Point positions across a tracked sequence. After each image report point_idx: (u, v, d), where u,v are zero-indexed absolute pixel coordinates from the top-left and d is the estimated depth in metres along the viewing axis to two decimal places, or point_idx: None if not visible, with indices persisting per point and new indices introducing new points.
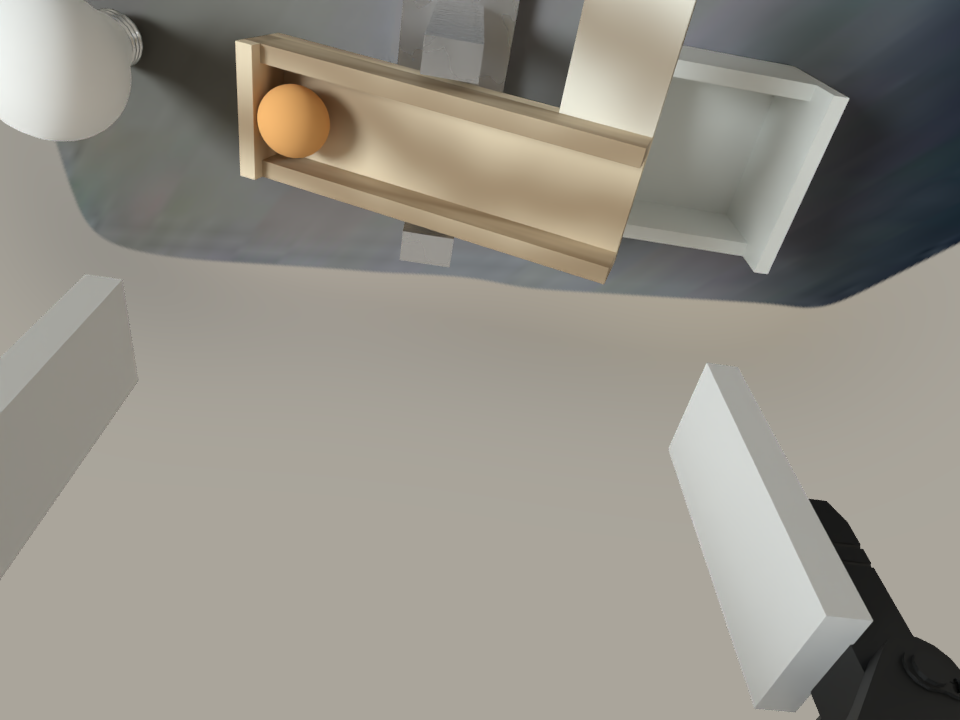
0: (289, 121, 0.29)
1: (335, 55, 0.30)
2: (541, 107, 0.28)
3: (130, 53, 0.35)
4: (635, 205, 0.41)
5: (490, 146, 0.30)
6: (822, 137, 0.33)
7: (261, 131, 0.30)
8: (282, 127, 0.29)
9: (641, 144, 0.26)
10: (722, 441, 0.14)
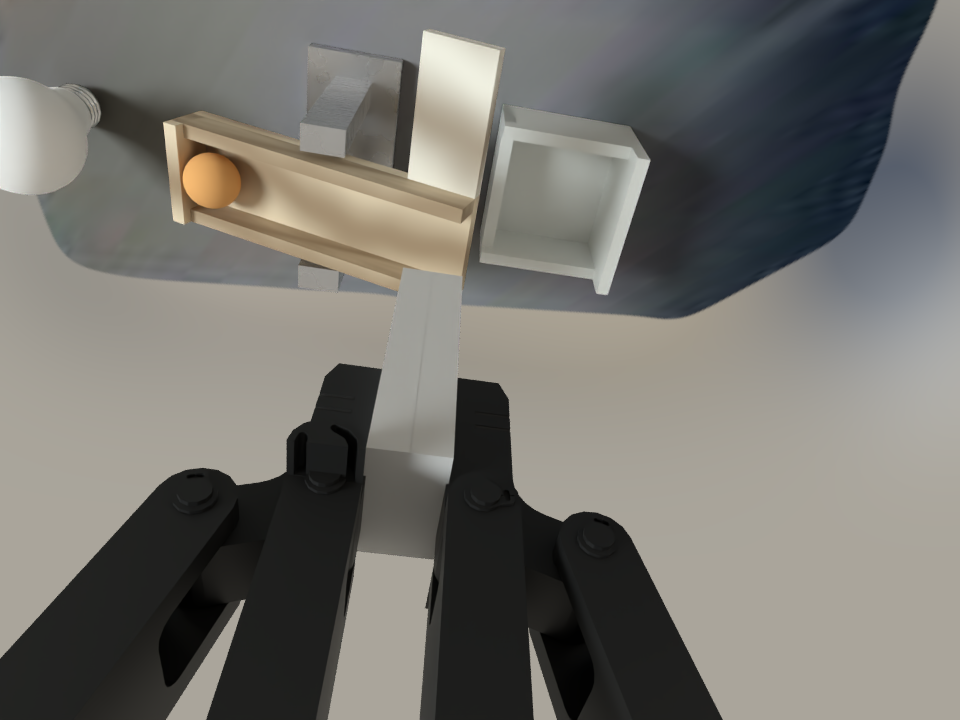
0: (205, 183, 0.38)
1: (241, 131, 0.38)
2: (395, 174, 0.37)
3: (89, 120, 0.43)
4: (509, 236, 0.50)
5: (361, 201, 0.39)
6: (634, 189, 0.42)
7: (185, 189, 0.39)
8: (200, 187, 0.38)
9: (460, 206, 0.35)
10: None
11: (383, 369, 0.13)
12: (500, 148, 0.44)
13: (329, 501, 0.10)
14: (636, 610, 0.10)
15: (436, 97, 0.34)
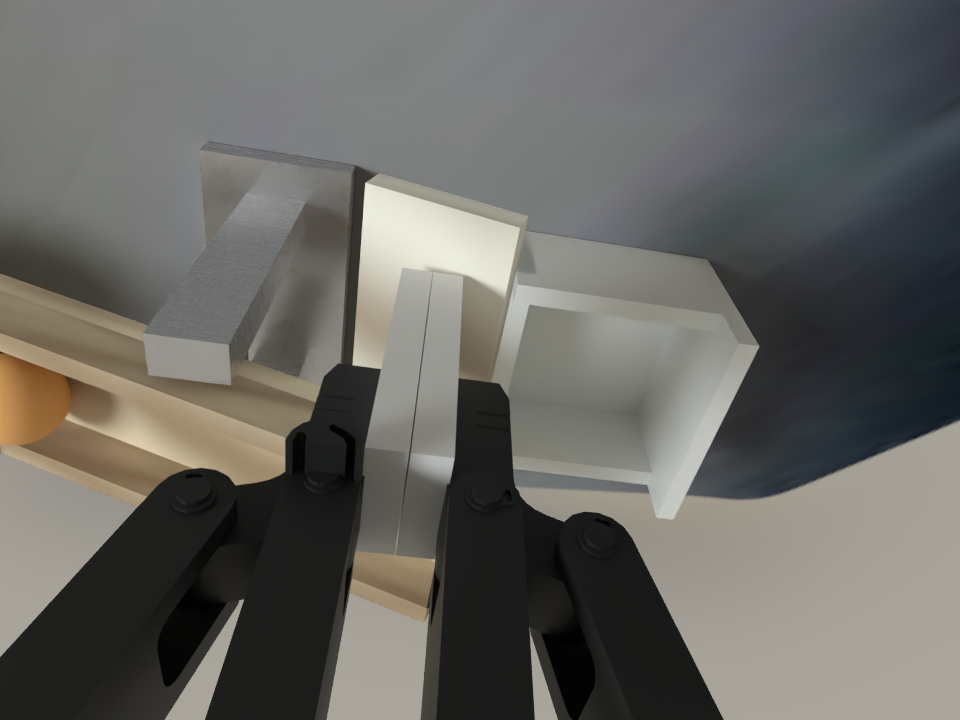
0: None
1: (58, 321, 0.22)
2: None
3: None
4: (521, 412, 0.33)
5: None
6: (728, 386, 0.26)
7: None
8: None
9: None
10: None
11: (382, 369, 0.13)
12: (509, 310, 0.27)
13: (328, 501, 0.10)
14: (637, 610, 0.10)
15: (394, 296, 0.18)
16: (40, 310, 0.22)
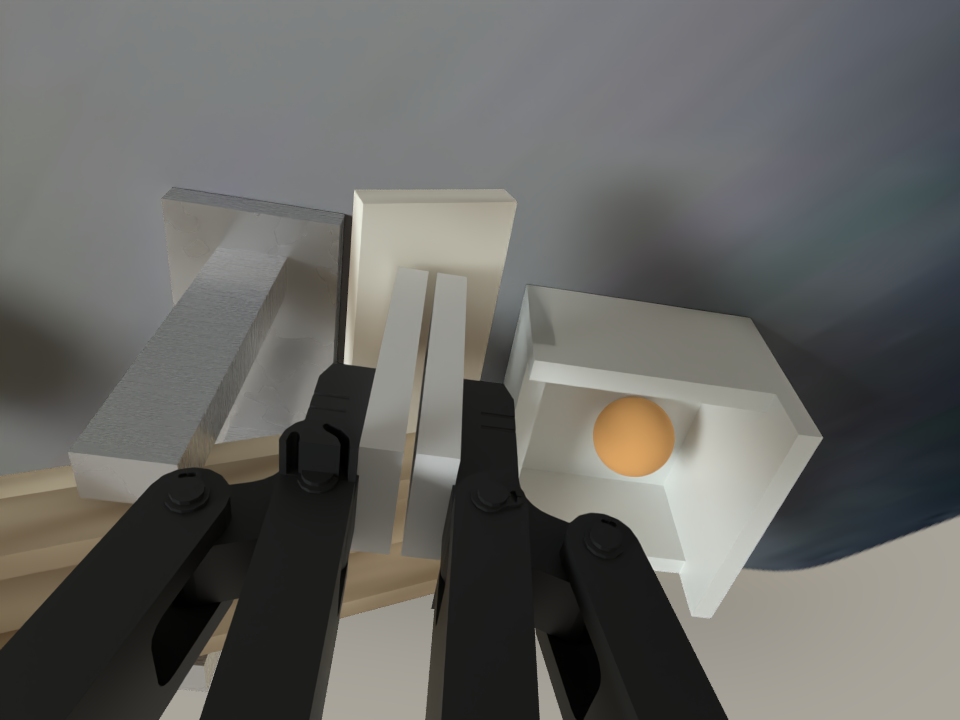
0: (599, 416, 0.27)
1: None
2: None
3: None
4: (535, 485, 0.29)
5: None
6: (783, 480, 0.22)
7: None
8: None
9: None
10: None
11: (377, 368, 0.13)
12: (524, 384, 0.23)
13: (322, 500, 0.10)
14: (643, 611, 0.10)
15: None
16: None
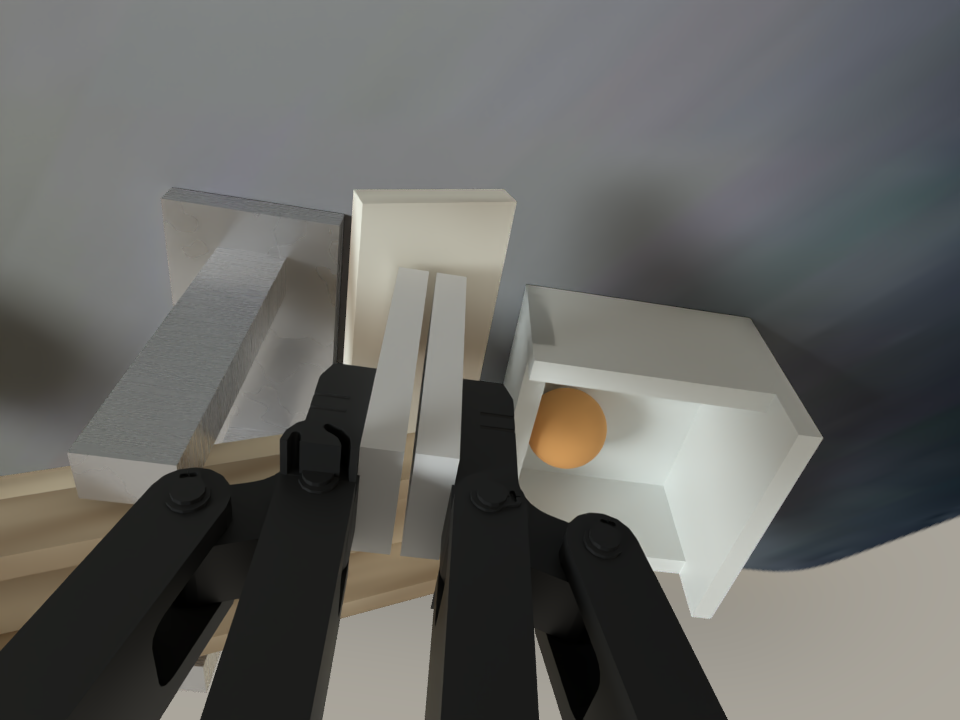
0: None
1: None
2: None
3: None
4: (534, 485, 0.29)
5: None
6: (783, 480, 0.22)
7: None
8: None
9: None
10: (428, 337, 0.15)
11: (378, 368, 0.13)
12: (523, 384, 0.23)
13: (323, 500, 0.10)
14: (642, 611, 0.10)
15: None
16: None
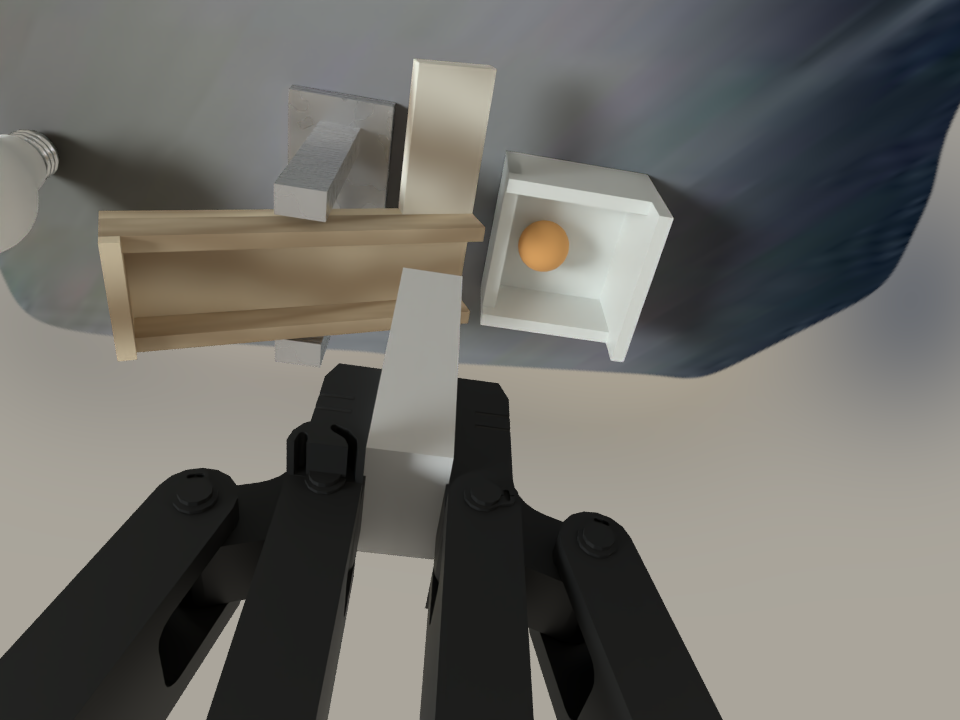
0: None
1: (191, 221, 0.31)
2: (388, 214, 0.35)
3: (43, 171, 0.39)
4: (513, 293, 0.45)
5: (350, 253, 0.35)
6: (654, 249, 0.37)
7: None
8: None
9: (478, 224, 0.36)
10: None
11: (383, 369, 0.13)
12: (503, 202, 0.39)
13: (329, 501, 0.10)
14: (636, 610, 0.10)
15: (433, 126, 0.33)
16: (169, 220, 0.30)
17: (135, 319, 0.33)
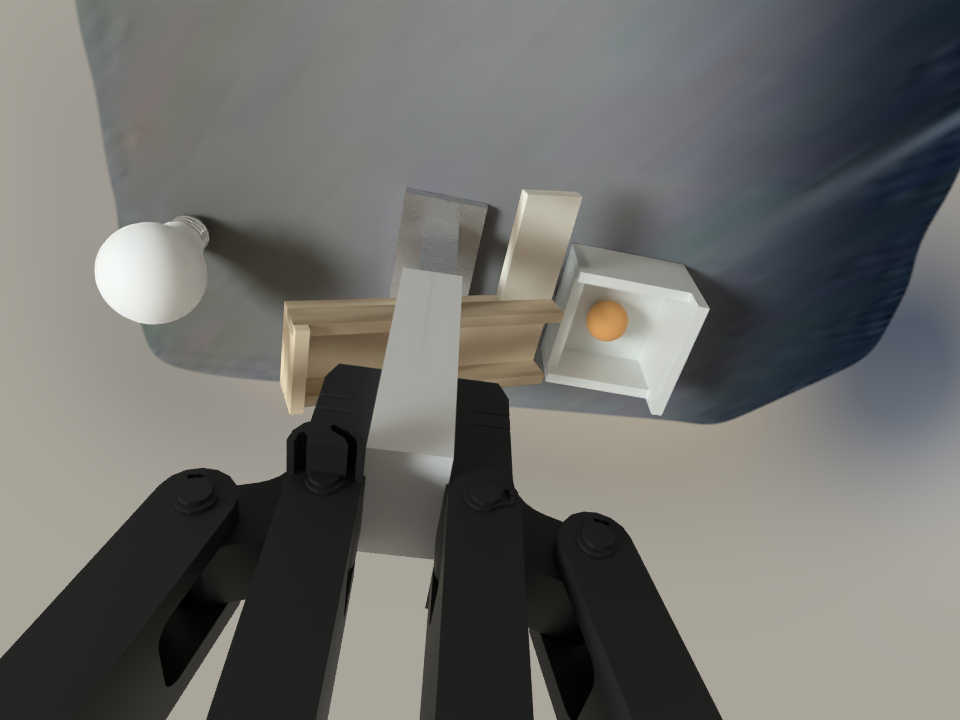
0: None
1: (352, 310, 0.40)
2: (490, 300, 0.45)
3: (202, 250, 0.48)
4: (569, 354, 0.55)
5: None
6: (693, 331, 0.47)
7: None
8: None
9: (558, 309, 0.46)
10: None
11: (383, 369, 0.13)
12: (573, 287, 0.49)
13: (329, 501, 0.10)
14: (636, 610, 0.10)
15: (531, 237, 0.43)
16: (336, 308, 0.40)
17: None
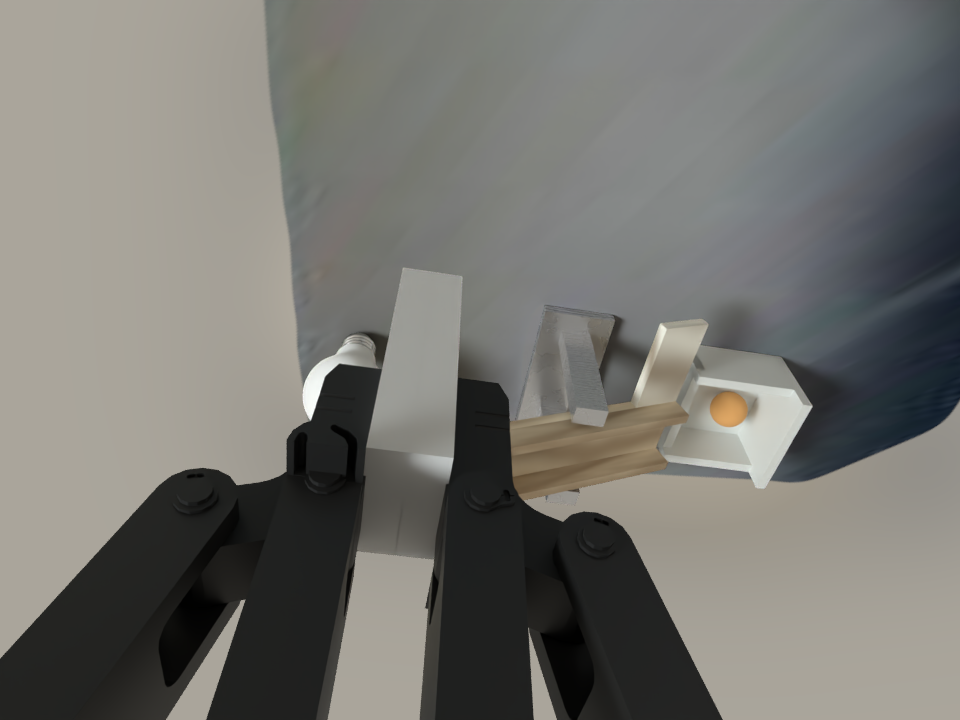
0: (713, 399, 0.60)
1: (525, 431, 0.49)
2: (627, 408, 0.53)
3: None
4: (679, 433, 0.63)
5: None
6: (797, 423, 0.55)
7: None
8: (712, 400, 0.61)
9: (684, 412, 0.54)
10: None
11: (383, 369, 0.13)
12: (690, 386, 0.57)
13: (329, 501, 0.10)
14: (636, 610, 0.10)
15: (665, 359, 0.51)
16: (512, 431, 0.48)
17: None
